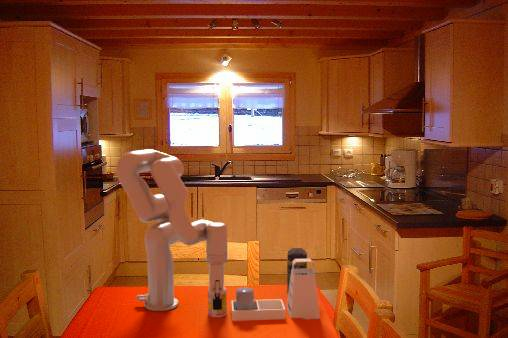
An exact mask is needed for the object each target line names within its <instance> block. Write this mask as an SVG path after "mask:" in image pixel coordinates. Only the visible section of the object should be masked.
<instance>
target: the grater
mask: <svg viewBox="0 0 508 338" xmlns="http://www.w3.org/2000/svg"><path fill="white" fill-rule="evenodd" d="M296 262H307V263H308V262H309V263H310V262H312V264H311V267H310V268H309V267H307V268H302V269H294V264H295V263H296ZM296 273H297V275H295V274H296ZM299 273H300V275H298V274H299ZM302 273H304V275H301V274H302ZM305 273H307V275H305ZM317 288H318V286H317V278H316V274H315V263H314V261H313V260H312V259H311V258H307V259H294V260H293V261H292V269H291V276H290V283H289V291H288V293H287V298H286V299H287V300H286V305H285V307H286V309H287V310H286V311H287V312H288V315H289V317H290V319H299V318H302V320H319V319H320V318H321V315H320V307H319V298H318V297H319V296H318V289H317Z"/></svg>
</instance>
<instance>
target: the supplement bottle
mask: <svg viewBox="0 0 508 338" xmlns="http://www.w3.org/2000/svg"><path fill="white" fill-rule="evenodd" d="M215 284H216V280H215ZM214 290H216V289H215V287H214ZM219 290H220V289H219ZM215 293H216V292H215ZM219 293H220V292H219ZM221 298H222V310H213V299H214V292H213V291H210V290H209V288H208V289H207V314H208V315H209V316H210V317H212V318H221V317H225V316H227V313H228V309H227V288H226V287H225V286H224V285H223V290H222V291H221Z"/></svg>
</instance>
